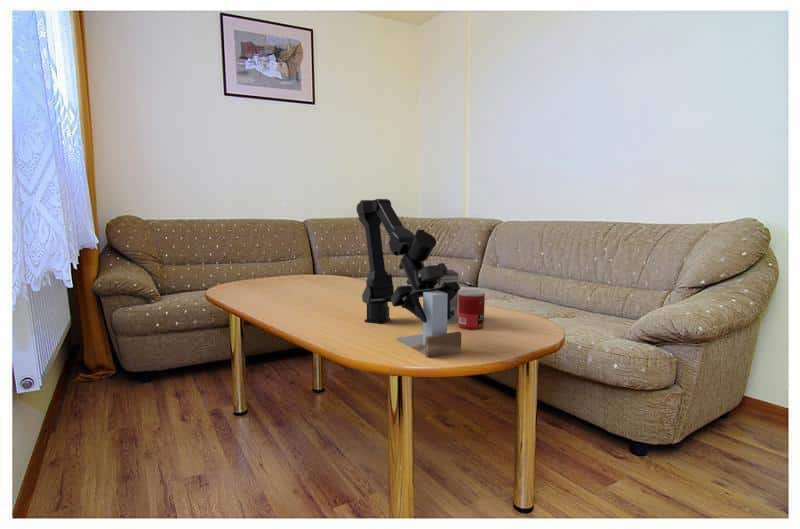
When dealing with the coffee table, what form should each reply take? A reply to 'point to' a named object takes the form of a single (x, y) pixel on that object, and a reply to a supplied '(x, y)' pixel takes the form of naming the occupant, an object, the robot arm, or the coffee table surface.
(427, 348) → the brown slab
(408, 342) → the pad
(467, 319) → the canned food
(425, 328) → the block
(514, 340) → the coffee table surface
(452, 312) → the coffee box
